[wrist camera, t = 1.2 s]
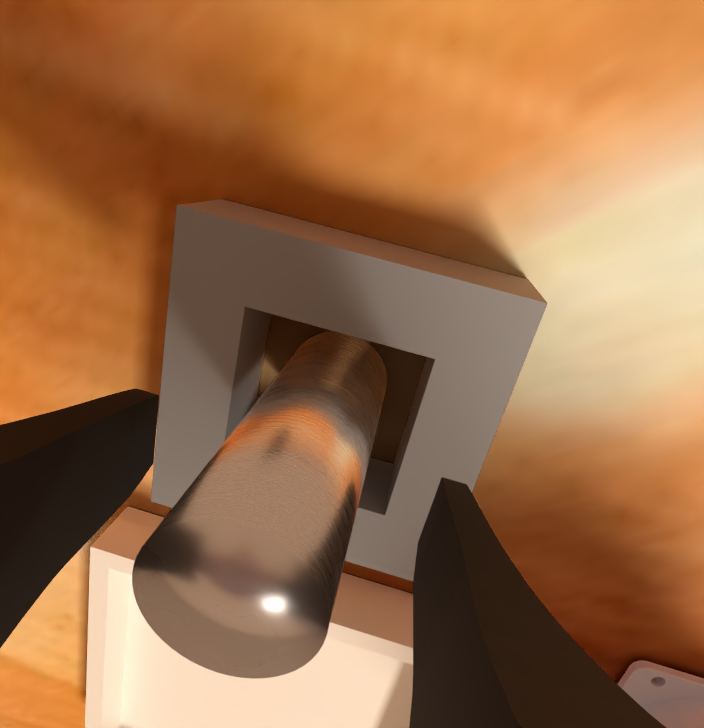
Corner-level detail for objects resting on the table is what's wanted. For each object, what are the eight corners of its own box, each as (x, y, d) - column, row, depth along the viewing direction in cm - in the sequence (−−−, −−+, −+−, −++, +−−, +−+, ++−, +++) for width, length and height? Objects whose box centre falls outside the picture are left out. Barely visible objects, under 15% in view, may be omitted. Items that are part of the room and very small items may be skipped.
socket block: (528, 279, 15) (547, 303, 13) (434, 528, 19) (433, 587, 17) (221, 198, 16) (176, 204, 13) (190, 455, 20) (150, 501, 17)
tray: (469, 611, 21) (473, 667, 18) (379, 811, 26) (373, 873, 24) (127, 506, 21) (90, 546, 19) (113, 722, 27) (83, 772, 25)
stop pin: (398, 346, 17) (350, 558, 8) (373, 433, 18) (307, 701, 9) (299, 319, 17) (138, 493, 8) (282, 407, 18) (127, 642, 9)
